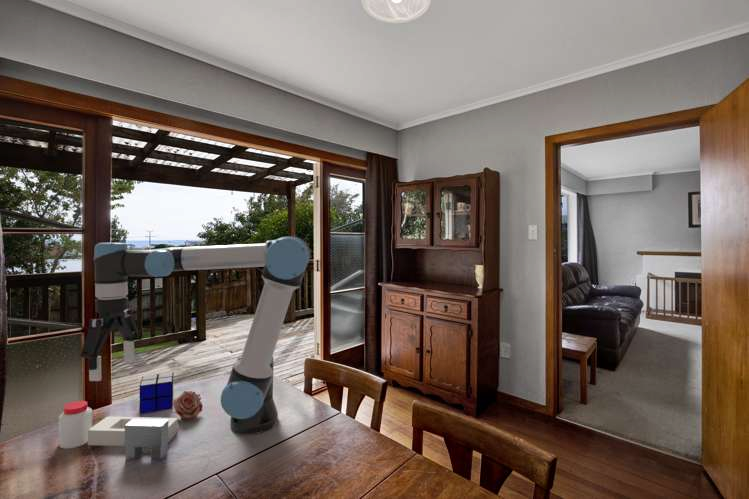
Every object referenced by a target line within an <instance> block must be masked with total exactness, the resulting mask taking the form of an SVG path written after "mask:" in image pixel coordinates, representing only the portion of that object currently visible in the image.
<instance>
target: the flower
mask: <svg viewBox="0 0 749 499" xmlns="http://www.w3.org/2000/svg"><path fill="white" fill-rule="evenodd" d="M201 399H202V396H201V393H199V394H198V393H196V392H195V391H192V390H190V391H183V392H182V393H181V394H180V395H179V396H178V397H176V398H175V399H173V408H174V411H171V412H170V413H173V414H174V413H175V414H177V416H178V417H180V418H181V421H183V420H185V419H189V418H192V417H193V418H195V419H196V418H197V416H199V414H200V413H201V412H202V411H203V402H202V401H201Z"/></svg>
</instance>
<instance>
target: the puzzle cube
mask: <svg viewBox="0 0 749 499" xmlns="http://www.w3.org/2000/svg"><path fill="white" fill-rule="evenodd" d="M173 408H174V372H173V371H170V372H164V373H163V372H162V373H155V374H145V375H142V377H141V380H140V383H139V414H141V415H142V414H143V415H144V414H149V413H154V412H160V411H167V410H171V409H173Z"/></svg>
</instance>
